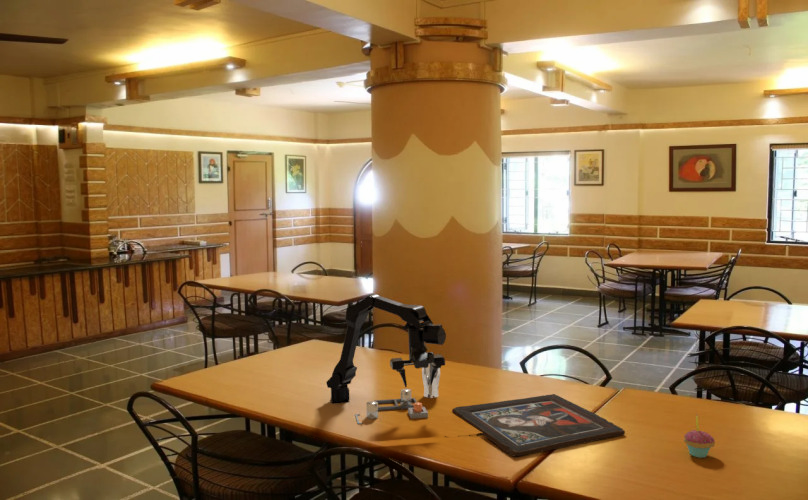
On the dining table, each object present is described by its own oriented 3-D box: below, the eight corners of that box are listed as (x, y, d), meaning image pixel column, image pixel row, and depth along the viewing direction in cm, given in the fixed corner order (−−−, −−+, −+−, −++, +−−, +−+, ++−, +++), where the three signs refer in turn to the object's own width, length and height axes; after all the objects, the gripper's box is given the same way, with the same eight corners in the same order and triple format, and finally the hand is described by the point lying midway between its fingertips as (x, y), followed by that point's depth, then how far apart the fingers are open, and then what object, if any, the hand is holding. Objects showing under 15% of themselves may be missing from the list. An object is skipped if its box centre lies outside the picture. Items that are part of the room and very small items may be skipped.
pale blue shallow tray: (357, 427, 216) (357, 423, 216) (355, 417, 225) (355, 414, 225) (390, 424, 218) (390, 421, 218) (386, 415, 227) (386, 412, 227)
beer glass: (438, 402, 240) (438, 363, 239) (420, 401, 242) (420, 363, 240) (441, 396, 247) (441, 359, 246) (423, 395, 249) (423, 358, 247)
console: (411, 422, 220) (411, 413, 220) (408, 416, 226) (408, 407, 226) (428, 421, 221) (427, 412, 221) (424, 415, 227) (424, 406, 227)
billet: (367, 422, 219) (367, 405, 219) (366, 418, 223) (365, 401, 223) (378, 421, 220) (378, 404, 220) (377, 417, 224) (377, 400, 223)
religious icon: (448, 415, 226) (448, 407, 226) (552, 400, 244) (552, 392, 244) (510, 460, 190) (510, 450, 189) (627, 438, 207) (627, 429, 207)
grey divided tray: (376, 414, 228) (376, 407, 228) (374, 407, 236) (374, 400, 236) (418, 411, 231) (418, 405, 230) (414, 404, 238) (414, 397, 238)
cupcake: (677, 449, 196) (679, 411, 195) (704, 448, 197) (705, 410, 196) (692, 461, 187) (694, 421, 186) (720, 459, 188) (722, 420, 187)
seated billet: (401, 408, 231) (401, 392, 231) (399, 404, 235) (399, 389, 235) (412, 407, 232) (412, 391, 232) (410, 404, 236) (410, 388, 235)
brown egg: (414, 416, 222) (414, 405, 221) (412, 413, 225) (412, 402, 224) (422, 416, 222) (422, 405, 222) (421, 413, 225) (421, 402, 225)
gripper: (394, 349, 212) (396, 395, 213) (448, 345, 215) (450, 390, 217) (388, 342, 223) (390, 386, 224) (440, 338, 226) (441, 381, 227)
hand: (418, 386), depth 223 cm, fingers open, 9 cm apart
